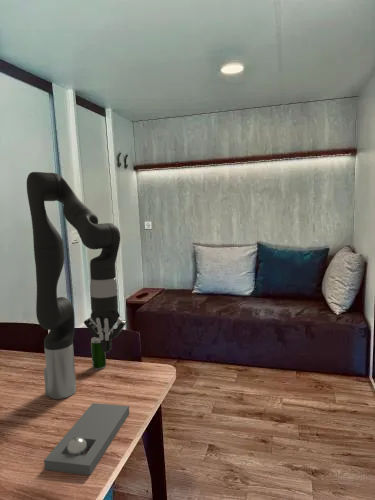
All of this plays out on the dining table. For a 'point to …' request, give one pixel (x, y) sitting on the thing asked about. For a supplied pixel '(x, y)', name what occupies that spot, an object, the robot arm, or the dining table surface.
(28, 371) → the dining table surface
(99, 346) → the beer can
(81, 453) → the steel ball
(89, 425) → the hole board
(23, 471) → the dining table surface
